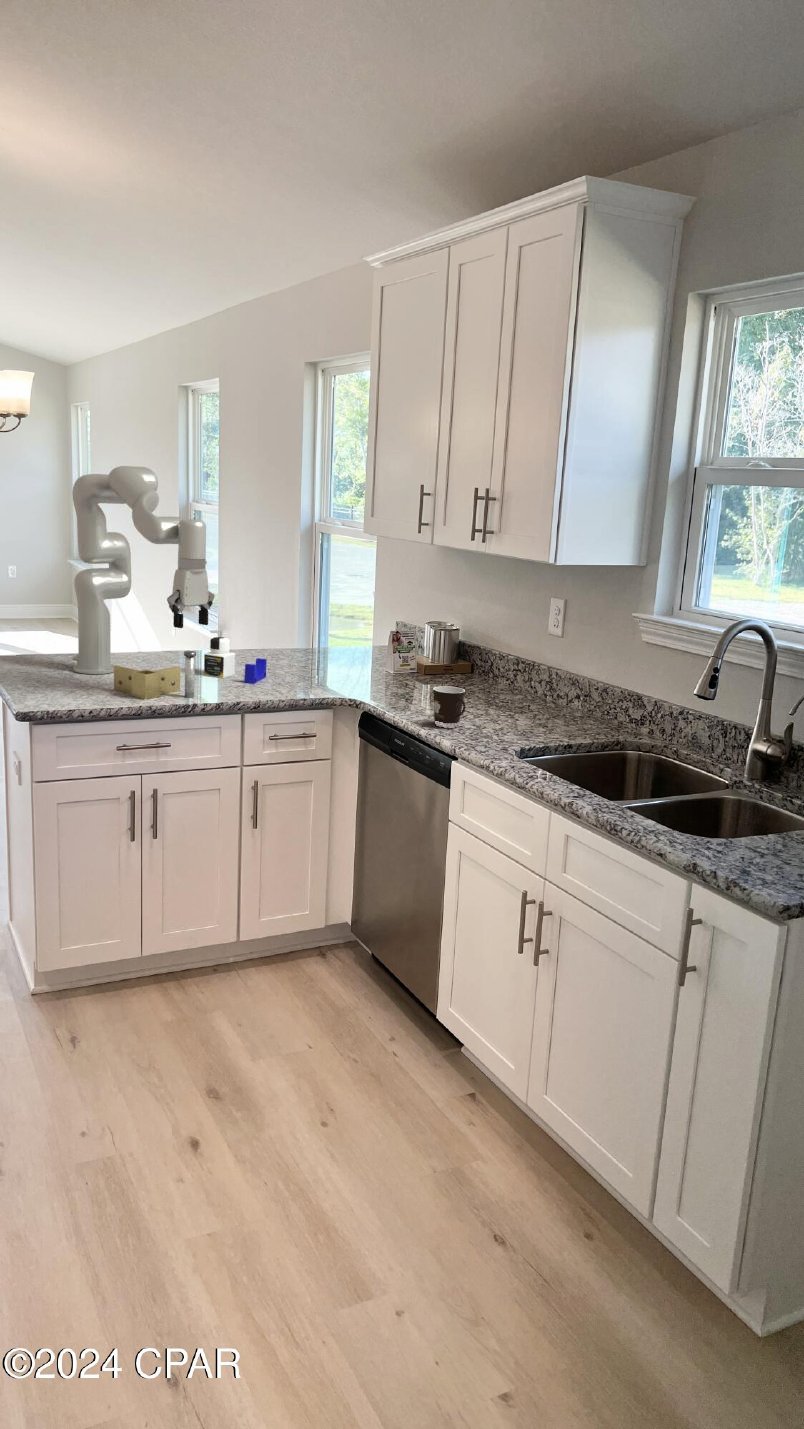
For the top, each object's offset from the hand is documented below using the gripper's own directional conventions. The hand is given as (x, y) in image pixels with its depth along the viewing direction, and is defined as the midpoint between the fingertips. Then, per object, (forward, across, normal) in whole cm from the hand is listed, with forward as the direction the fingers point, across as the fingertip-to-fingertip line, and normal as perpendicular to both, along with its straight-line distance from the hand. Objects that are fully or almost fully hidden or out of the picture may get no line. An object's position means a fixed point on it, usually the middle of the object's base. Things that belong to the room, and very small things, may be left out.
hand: (191, 626), depth 291 cm
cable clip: (+21, -32, -5) cm, 39 cm away
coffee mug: (+21, -26, +70) cm, 78 cm away
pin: (+20, 0, 0) cm, 20 cm away
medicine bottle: (+20, -29, -16) cm, 39 cm away
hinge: (+20, +4, -13) cm, 25 cm away
